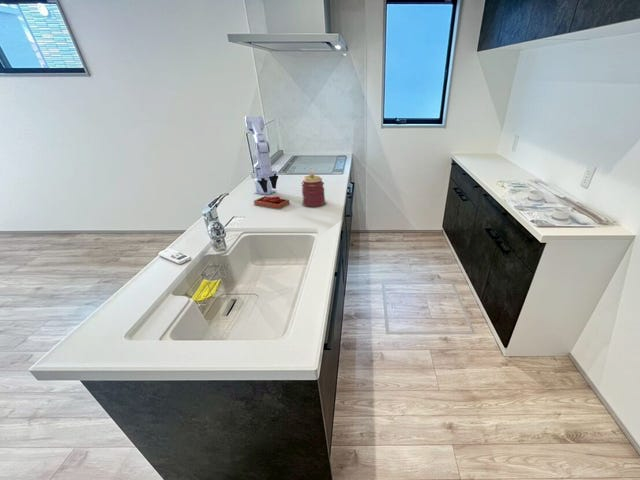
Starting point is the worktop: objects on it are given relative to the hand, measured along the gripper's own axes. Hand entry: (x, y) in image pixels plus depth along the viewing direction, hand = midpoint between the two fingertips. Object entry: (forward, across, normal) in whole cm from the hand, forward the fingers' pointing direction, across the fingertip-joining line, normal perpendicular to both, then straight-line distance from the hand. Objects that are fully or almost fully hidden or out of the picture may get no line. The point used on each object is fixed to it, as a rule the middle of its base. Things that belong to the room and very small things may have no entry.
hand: (269, 190), depth 178 cm
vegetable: (+8, 0, 0) cm, 8 cm away
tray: (+8, 0, 0) cm, 8 cm away
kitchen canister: (+8, +11, -22) cm, 26 cm away
